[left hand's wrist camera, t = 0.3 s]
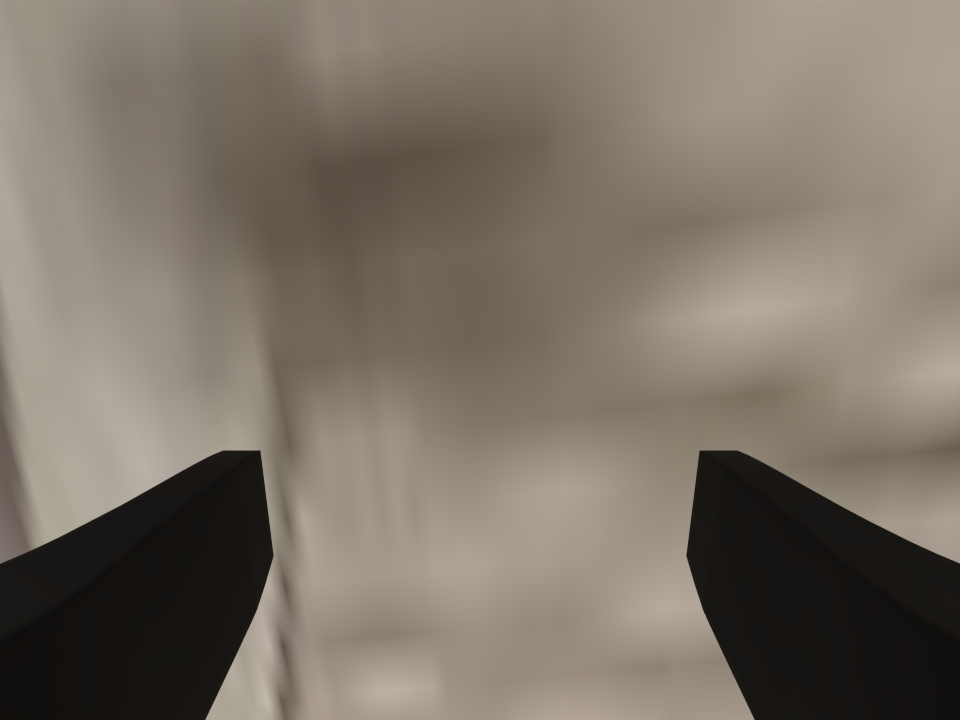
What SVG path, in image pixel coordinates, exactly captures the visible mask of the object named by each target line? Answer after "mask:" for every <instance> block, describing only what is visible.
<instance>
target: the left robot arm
mask: <svg viewBox="0 0 960 720" xmlns="http://www.w3.org/2000/svg"><path fill="white" fill-rule="evenodd" d="M272 559H273V548H272V540H271V532H270V524H269V516H268V508H267V500H266V492H265V484H264V476H263V468H262V460H261V452H260V451H221V452H219V453H216V454H214V455H212V456H210V457H207V458H206V459H204V460H202V461H200V462H198V463H196V464H194V465H192V466H190V467H189V468H187V469H185V470H183V471H181V472H180V473H178V474H176V475H174V476H173V477H171V478H169V479H167V480H165V481H164V482H162V483H160V484H158V485H157V486H155V487H153V488H151V489H149V490H148V491H146V492H144V493H142V494H141V495H139V496H137V497H135V498H133V499H132V500H130V501H128V502H126V503H125V504H123V505H121V506H119V507H117V508H115V509H113V510H111V511H109V512H107V513H105V514H104V515H102V516H100V517H98V518H96V519H94V520H92V521H90V522H88V523H86V524H84V525H82V526H80V527H78V528H77V529H75V530H73V531H71V532H69V533H67V534H65V535H63V536H61V537H59V538H57V539H55V540H53V541H51V542H49V543H46V544H44V545H42V546H40V547H38V548H36V549H33V550H31V551H29V552H27V553H25V554H22V555H20V556H18V557H15V558H13V559H11V560H8V561H6V562H4V563H1V564H0V720H205V719H206V717H207V715H208V713H209V711H210V709H211V707H212V705H213V702H214V700H215V698H216V696H217V694H218V692H219V690H220V688H221V686H222V684H223V681H224V679H225V677H226V675H227V673H228V671H229V669H230V667H231V665H232V663H233V660H234V658H235V656H236V654H237V652H238V650H239V648H240V646H241V643H242V641H243V639H244V637H245V635H246V633H247V631H248V628H249V626H250V624H251V622H252V620H253V617H254V615H255V613H256V611H257V608H258V605H259V602H260V599H261V596H262V593H263V590H264V587H265V583H266V580H267V576H268V573H269V570H270V566H271V563H272ZM687 559H688V563H689V566H690V570H691V573H692V576H693V580H694V583H695V587H696V590H697V593H698V596H699V599H700V602H701V605H702V608H703V611H704V613H705V615H706V617H707V620H708V622H709V624H710V626H711V628H712V631H713V633H714V635H715V637H716V639H717V641H718V643H719V646H720V648H721V650H722V652H723V654H724V656H725V658H726V660H727V663H728V665H729V667H730V669H731V671H732V673H733V675H734V677H735V679H736V681H737V684H738V686H739V688H740V690H741V692H742V694H743V696H744V698H745V700H746V702H747V705H748V707H749V709H750V711H751V713H752V715H753V717H754V719H755V720H960V563H957V562H955V561H953V560H950V559H948V558H945V557H943V556H941V555H938V554H936V553H934V552H932V551H929V550H927V549H925V548H923V547H921V546H918V545H916V544H914V543H912V542H910V541H908V540H906V539H904V538H902V537H900V536H898V535H896V534H894V533H892V532H890V531H888V530H886V529H884V528H882V527H880V526H878V525H876V524H874V523H872V522H870V521H868V520H866V519H864V518H862V517H860V516H858V515H856V514H855V513H853V512H851V511H849V510H847V509H845V508H843V507H841V506H840V505H838V504H836V503H834V502H832V501H831V500H829V499H827V498H825V497H823V496H822V495H820V494H818V493H816V492H814V491H813V490H811V489H809V488H807V487H806V486H804V485H802V484H800V483H798V482H797V481H795V480H793V479H791V478H790V477H788V476H786V475H784V474H783V473H781V472H779V471H777V470H775V469H774V468H772V467H770V466H768V465H766V464H764V463H763V462H761V461H759V460H757V459H755V458H753V457H751V456H749V455H747V454H744V453H742V452H739V451H700V452H699V460H698V468H697V476H696V484H695V492H694V500H693V508H692V516H691V524H690V532H689V540H688V548H687Z"/></svg>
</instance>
